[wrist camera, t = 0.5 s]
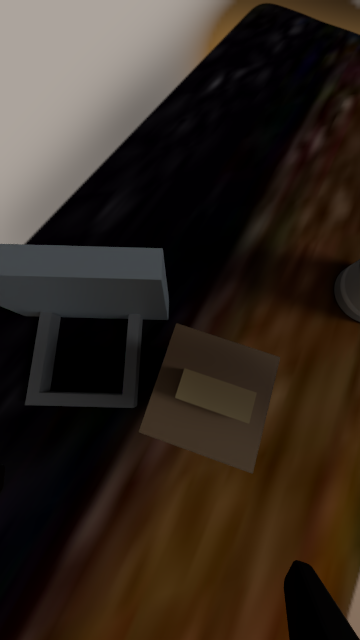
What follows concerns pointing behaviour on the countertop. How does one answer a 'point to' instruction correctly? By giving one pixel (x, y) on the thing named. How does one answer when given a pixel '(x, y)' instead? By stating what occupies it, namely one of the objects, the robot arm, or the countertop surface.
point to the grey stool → (83, 305)
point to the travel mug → (349, 290)
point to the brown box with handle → (211, 397)
